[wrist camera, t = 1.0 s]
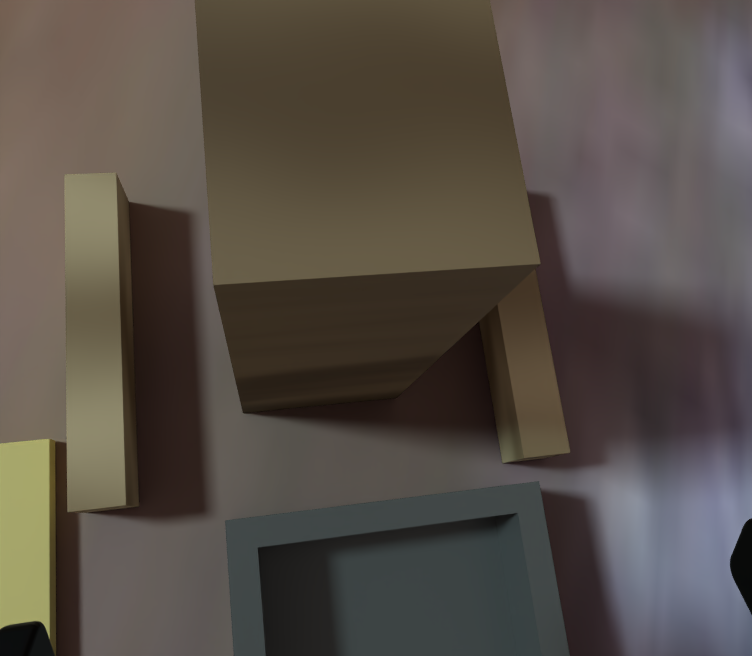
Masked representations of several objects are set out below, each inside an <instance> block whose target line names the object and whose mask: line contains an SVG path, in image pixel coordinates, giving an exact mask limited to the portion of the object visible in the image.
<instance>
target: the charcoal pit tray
mask: <svg viewBox="0 0 752 656" xmlns="http://www.w3.org/2000/svg"><path fill="white" fill-rule="evenodd" d="M225 525H226V541H227V556H228V572H229V587H230V603H231V619H232V634H233V650H234V656H570V654H569V648H568V642H567V637H566V631H565V625H564V620H563V614H562V609H561V603H560V597H559V592H558V586H557V580H556V575H555V569H554V563H553V558H552V552H551V547H550V541H549V535H548V530H547V524H546V518H545V513H544V507H543V501H542V496H541V490H540V485H539V481H538V482H530V483H522V484H514V485H506V486H498V487H490V488H482V489H474V490H466V491H458V492H450V493H442V494H434V495H426V496H418V497H410V498H402V499H394V500H386V501H378V502H370V503H362V504H354V505H346V506H338V507H330V508H322V509H314V510H306V511H298V512H290V513H282V514H274V515H266V516H258V517H250V518H242V519H234V520H226V521H225Z"/></svg>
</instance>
